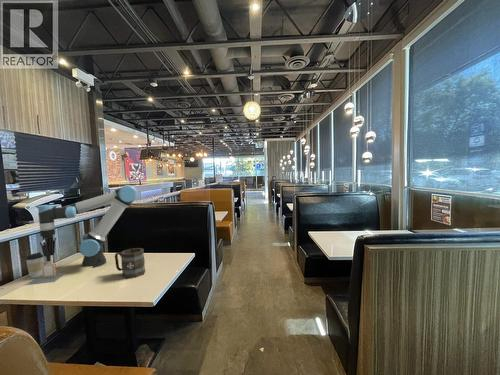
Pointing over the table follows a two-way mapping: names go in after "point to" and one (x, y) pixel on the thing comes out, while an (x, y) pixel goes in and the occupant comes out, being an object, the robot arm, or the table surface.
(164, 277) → the table surface
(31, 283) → the board
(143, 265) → the mug
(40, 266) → the coffee cup
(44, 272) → the tile
